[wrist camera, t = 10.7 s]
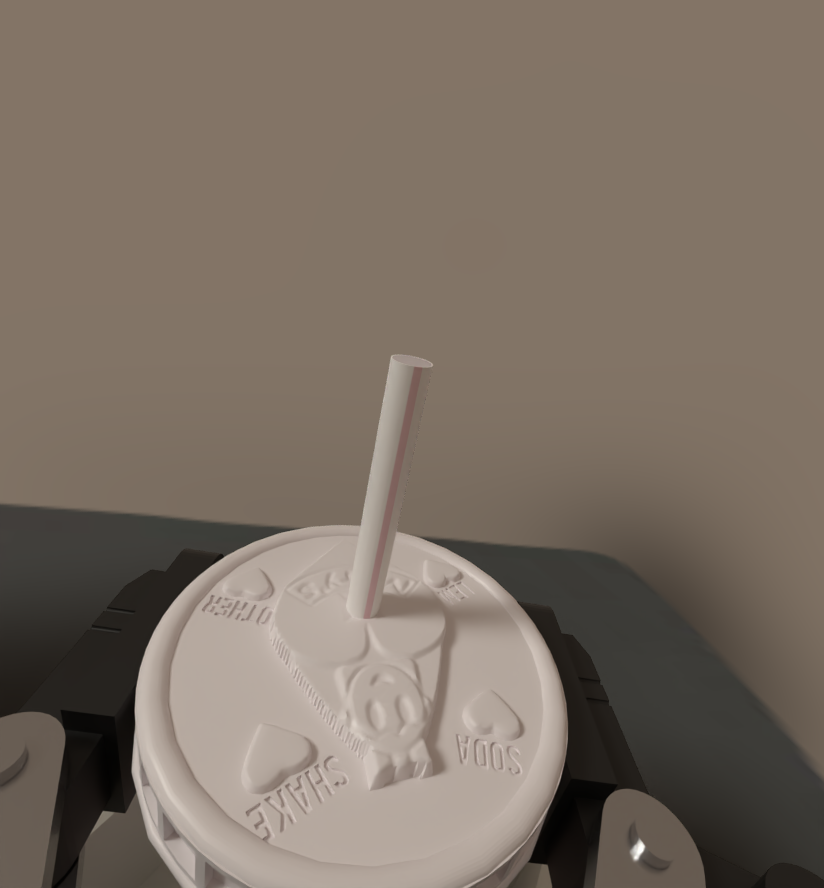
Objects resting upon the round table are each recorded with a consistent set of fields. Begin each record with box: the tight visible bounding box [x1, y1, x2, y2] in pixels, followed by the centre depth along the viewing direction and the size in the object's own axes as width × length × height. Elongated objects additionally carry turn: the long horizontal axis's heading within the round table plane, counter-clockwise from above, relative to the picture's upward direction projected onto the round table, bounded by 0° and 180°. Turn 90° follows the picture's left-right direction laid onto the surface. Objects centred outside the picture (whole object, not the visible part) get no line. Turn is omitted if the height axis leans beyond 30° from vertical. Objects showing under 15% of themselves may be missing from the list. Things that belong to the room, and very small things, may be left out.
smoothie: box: [131, 355, 568, 888], centre depth 8 cm, size 6×6×14 cm
